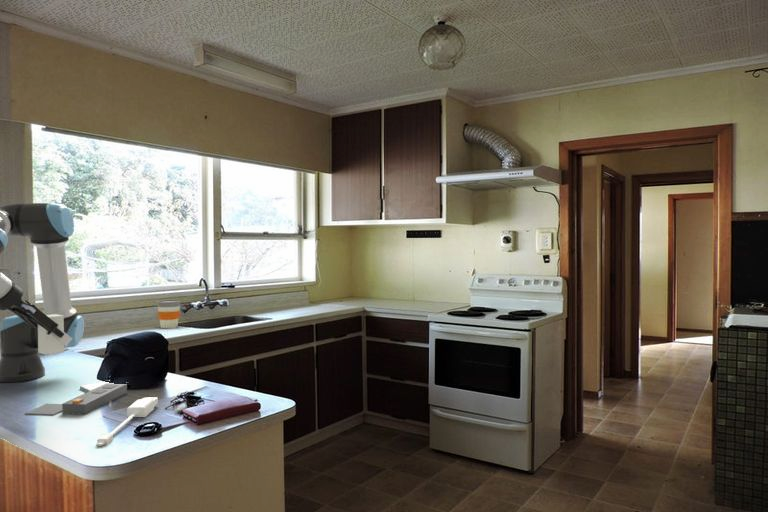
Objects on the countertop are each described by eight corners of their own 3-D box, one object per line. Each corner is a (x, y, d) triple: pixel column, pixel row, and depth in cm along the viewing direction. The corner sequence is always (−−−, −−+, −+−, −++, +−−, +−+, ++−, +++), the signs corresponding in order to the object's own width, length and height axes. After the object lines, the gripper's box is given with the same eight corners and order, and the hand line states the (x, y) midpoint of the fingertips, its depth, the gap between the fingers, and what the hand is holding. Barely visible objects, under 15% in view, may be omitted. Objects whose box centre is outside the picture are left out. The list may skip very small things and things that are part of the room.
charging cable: (89, 451, 134) (88, 438, 134) (142, 405, 166) (142, 394, 166) (109, 451, 134) (109, 438, 134) (159, 405, 166) (159, 394, 166)
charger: (38, 352, 161) (37, 316, 160) (56, 349, 165) (55, 314, 165) (46, 354, 158) (45, 317, 158) (64, 351, 162) (63, 315, 162)
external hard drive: (79, 390, 184) (117, 382, 193) (89, 395, 179) (127, 387, 188) (79, 385, 184) (117, 378, 193) (89, 390, 179) (127, 382, 188)
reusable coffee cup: (176, 324, 317) (176, 299, 316) (184, 327, 307) (183, 301, 307) (154, 326, 309) (153, 300, 308) (161, 329, 299) (161, 302, 299)
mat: (46, 404, 167) (46, 403, 167) (74, 405, 166) (74, 404, 166) (24, 414, 158) (24, 413, 158) (54, 415, 157) (54, 414, 157)
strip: (120, 385, 188) (120, 375, 188) (139, 386, 188) (139, 375, 187) (62, 413, 158) (62, 401, 158) (85, 414, 158) (84, 402, 158)
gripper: (-23, 300, 153) (41, 347, 167) (4, 305, 143) (70, 355, 157) (-2, 280, 157) (58, 328, 172) (26, 283, 147) (88, 334, 162)
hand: (64, 341), depth 164 cm, fingers closed on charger, 5 cm apart
